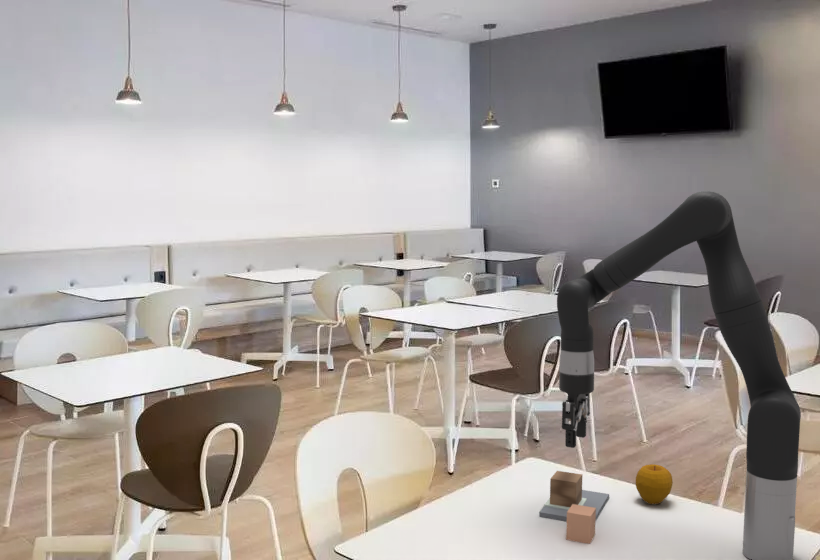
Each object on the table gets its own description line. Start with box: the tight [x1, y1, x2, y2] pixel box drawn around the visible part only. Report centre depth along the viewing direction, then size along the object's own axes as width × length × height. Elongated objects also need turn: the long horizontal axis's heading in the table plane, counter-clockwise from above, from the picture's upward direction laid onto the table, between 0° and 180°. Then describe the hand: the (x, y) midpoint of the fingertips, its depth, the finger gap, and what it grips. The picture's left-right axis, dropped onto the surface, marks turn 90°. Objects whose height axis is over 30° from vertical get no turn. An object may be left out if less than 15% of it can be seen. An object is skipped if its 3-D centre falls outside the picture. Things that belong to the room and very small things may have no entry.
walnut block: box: [549, 470, 583, 507], centre depth 187 cm, size 6×6×6 cm
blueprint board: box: [538, 489, 610, 522], centre depth 188 cm, size 12×18×1 cm, turn 155°
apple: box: [635, 463, 674, 505], centre depth 191 cm, size 8×8×9 cm
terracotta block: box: [565, 504, 597, 545], centre depth 171 cm, size 5×5×6 cm
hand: (576, 441), depth 180 cm, fingers open, 8 cm apart
